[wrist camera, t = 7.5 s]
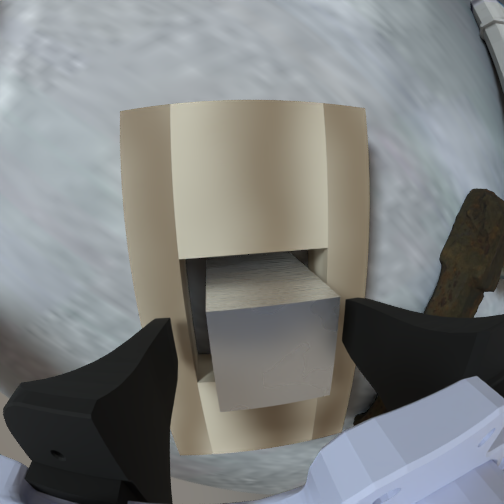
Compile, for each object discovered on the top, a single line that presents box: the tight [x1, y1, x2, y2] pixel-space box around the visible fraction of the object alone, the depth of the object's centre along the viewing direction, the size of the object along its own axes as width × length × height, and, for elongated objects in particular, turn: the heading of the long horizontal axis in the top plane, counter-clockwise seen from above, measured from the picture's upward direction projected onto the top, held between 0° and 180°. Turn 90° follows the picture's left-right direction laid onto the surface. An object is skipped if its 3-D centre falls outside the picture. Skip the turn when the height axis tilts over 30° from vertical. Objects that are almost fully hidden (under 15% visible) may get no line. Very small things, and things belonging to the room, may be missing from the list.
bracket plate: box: [120, 100, 370, 455], centre depth 13 cm, size 10×18×2 cm, turn 3°
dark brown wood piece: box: [353, 189, 504, 426], centre depth 15 cm, size 19×4×5 cm, turn 159°
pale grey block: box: [206, 252, 340, 412], centre depth 11 cm, size 4×4×6 cm
